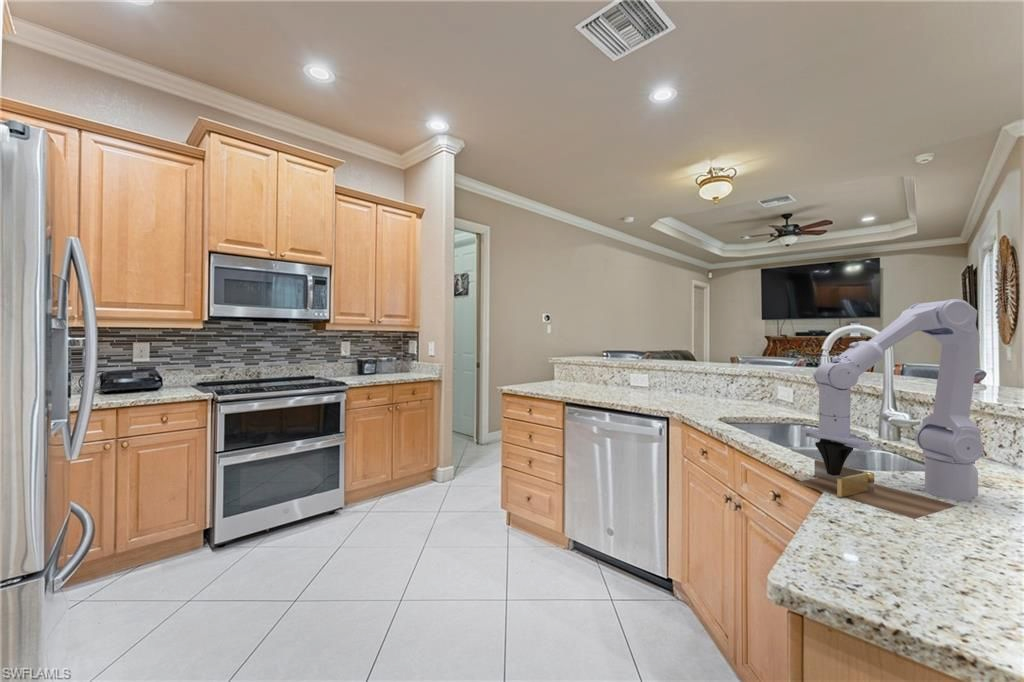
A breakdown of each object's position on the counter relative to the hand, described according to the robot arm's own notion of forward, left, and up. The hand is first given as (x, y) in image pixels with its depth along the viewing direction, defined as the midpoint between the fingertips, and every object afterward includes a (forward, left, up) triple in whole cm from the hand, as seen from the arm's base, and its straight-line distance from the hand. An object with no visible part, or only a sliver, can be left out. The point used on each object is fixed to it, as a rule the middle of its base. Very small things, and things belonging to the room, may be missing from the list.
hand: (833, 474), depth 94 cm
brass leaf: (-1, +4, -3) cm, 5 cm away
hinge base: (-4, +4, -4) cm, 7 cm away
